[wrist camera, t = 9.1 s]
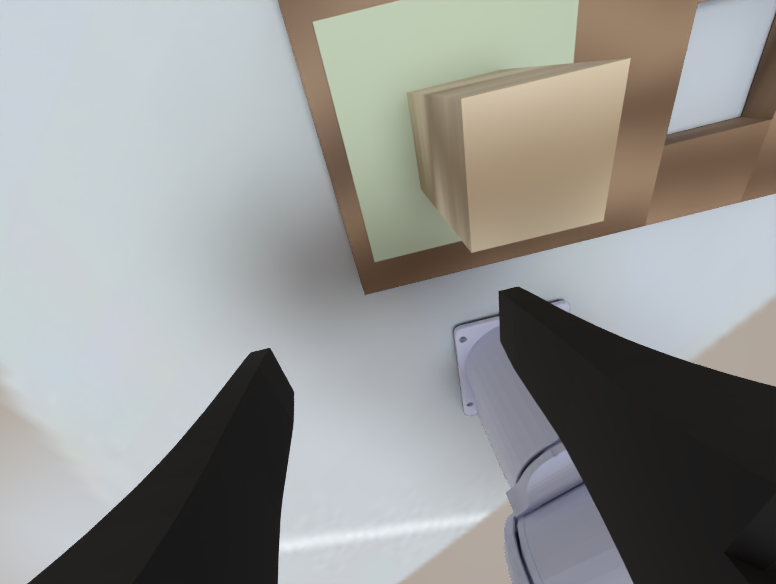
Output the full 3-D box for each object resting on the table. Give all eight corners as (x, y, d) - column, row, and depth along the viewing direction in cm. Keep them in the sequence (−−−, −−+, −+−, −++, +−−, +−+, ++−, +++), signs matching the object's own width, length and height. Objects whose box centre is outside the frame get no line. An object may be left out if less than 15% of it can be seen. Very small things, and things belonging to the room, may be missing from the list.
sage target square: (557, 214, 18) (560, 216, 17) (374, 259, 18) (374, 262, 17) (577, -43, 12) (582, -46, 12) (313, 22, 12) (312, 21, 12)
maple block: (503, 169, 16) (603, 221, 10) (421, 189, 16) (471, 252, 10) (502, 69, 13) (630, 57, 8) (406, 92, 13) (461, 98, 8)
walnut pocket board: (783, 177, 20) (813, 184, 19) (363, 281, 20) (364, 294, 19) (950, -200, 12) (1020, -232, 11) (272, -32, 12) (264, -45, 11)
